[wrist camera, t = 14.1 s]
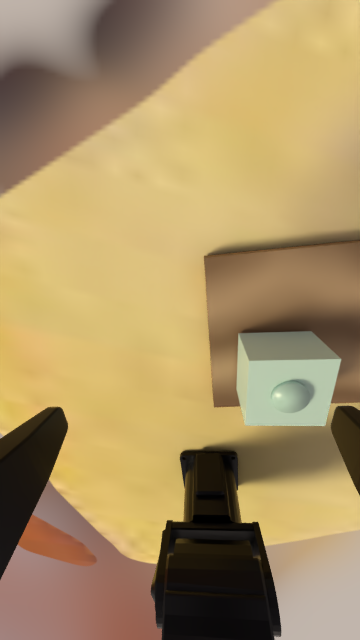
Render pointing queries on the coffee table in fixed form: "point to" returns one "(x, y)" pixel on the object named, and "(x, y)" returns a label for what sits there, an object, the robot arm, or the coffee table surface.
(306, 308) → the board
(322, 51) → the coffee table surface
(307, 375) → the pale green knobbed block
